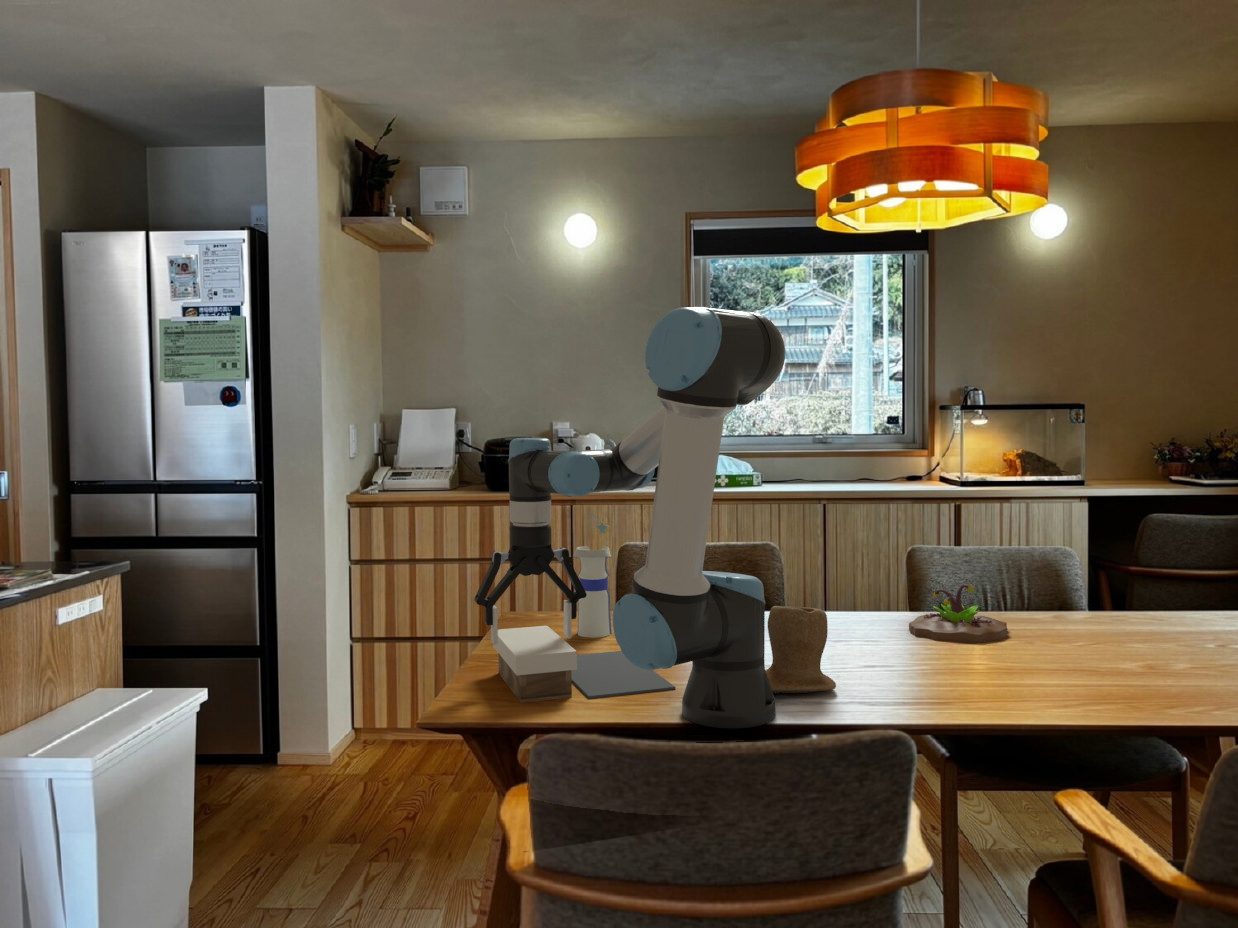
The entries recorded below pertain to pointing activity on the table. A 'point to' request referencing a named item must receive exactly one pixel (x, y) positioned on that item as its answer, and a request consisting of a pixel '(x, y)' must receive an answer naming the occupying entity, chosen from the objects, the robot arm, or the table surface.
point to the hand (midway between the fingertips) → (531, 639)
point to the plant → (958, 622)
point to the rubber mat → (614, 676)
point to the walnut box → (536, 684)
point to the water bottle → (594, 591)
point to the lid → (535, 650)
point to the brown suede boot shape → (797, 650)
